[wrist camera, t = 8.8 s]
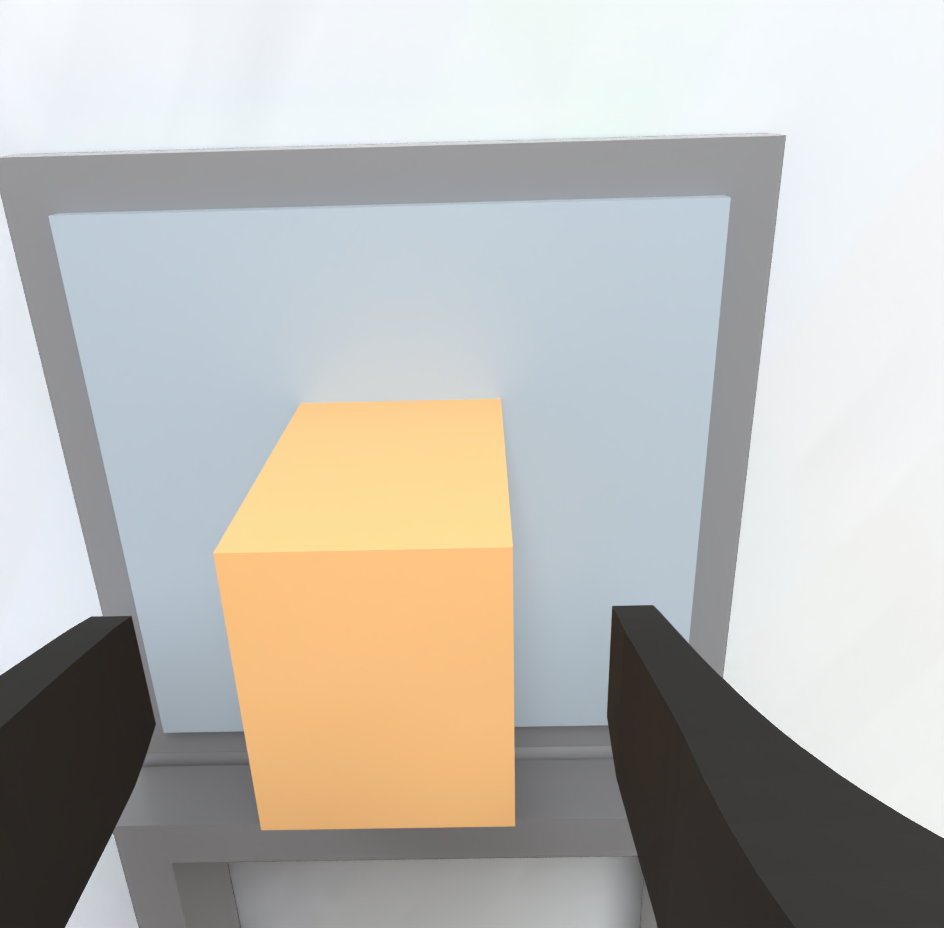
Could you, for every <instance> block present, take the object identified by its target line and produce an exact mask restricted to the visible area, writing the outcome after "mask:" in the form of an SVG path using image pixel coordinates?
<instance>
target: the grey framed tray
mask: <svg viewBox="0 0 944 928" xmlns="http://www.w3.org/2000/svg"><path fill="white" fill-rule="evenodd" d="M785 140H786V135H777V134H768V133H751V134H716V135H680V136H645V137H609V138H574V139H539V140H503V141H468V142H432V143H397V144H361V145H326V146H291V147H255V148H220V149H184V150H149V151H114V152H78V153H43V154H20V155H12V156H4V157H0V194H1V198H2V202H3V207H4V211H5V215H6V219H7V223H8V227H9V231H10V235H11V239H12V244H13V248H14V252H15V256H16V260H17V264H18V268H19V272H20V276H21V281H22V285H23V289H24V293H25V297H26V301H27V305H28V309H29V314H30V318H31V322H32V326H33V330H34V334H35V338H36V342H37V346H38V351H39V355H40V359H41V363H42V367H43V371H44V375H45V379H46V383H47V388H48V392H49V396H50V400H51V404H52V408H53V412H54V416H55V420H56V425H57V429H58V433H59V437H60V441H61V445H62V449H63V453H64V457H65V462H66V466H67V470H68V474H69V478H70V482H71V486H72V490H73V495H74V499H75V503H76V507H77V511H78V515H79V519H80V523H81V527H82V532H83V536H84V540H85V544H86V548H87V552H88V556H89V560H90V564H91V569H92V573H93V577H94V581H95V585H96V589H97V593H98V597H99V601H100V606H101V610H102V614H103V616H132V620H133V624H134V629H135V633H136V638H137V642H138V646H139V651H140V655H141V660H142V664H143V669H144V673H145V677H146V682H147V686H148V691H149V695H150V700H151V704H152V709H153V713H154V717H155V722H156V726H155V729H154V732H153V735H152V739H151V742H150V745H149V748H148V751H147V754H146V757H145V760H144V763H143V766H142V769H141V771H140V774H139V777H138V780H137V783H136V785H135V788H134V790H133V792H132V794H131V796H130V798H129V800H128V802H127V804H126V806H125V809H124V811H123V813H122V815H121V817H120V819H119V821H118V823H117V825H116V827H115V829H114V831H113V834H114V838H115V841H116V845H117V849H118V852H119V856H120V860H121V863H122V867H123V871H124V874H125V878H126V882H127V885H128V889H129V893H130V897H131V900H132V904H133V908H134V911H135V915H136V919H137V922H138V926H139V928H240V923H239V918H238V913H237V908H236V903H235V898H234V893H233V888H232V883H231V878H230V873H229V868H228V863H227V862H261V861H330V860H399V859H468V858H537V857H605V856H638V855H637V851H636V848H635V844H634V841H633V837H632V833H631V830H630V826H629V823H628V819H627V815H626V812H625V808H624V804H623V801H622V797H621V794H620V790H619V786H618V782H617V779H616V773H615V767H614V760H613V754H612V748H611V741H610V734H609V727H608V720H607V702H608V681H609V660H610V640H611V619H612V606H630V605H654V606H655V607H656V608H657V609H658V610H659V611H660V612H661V613H662V614H663V616H664V617H665V618H666V619H667V620H668V621H669V622H670V623H671V624H672V625H673V627H674V628H675V629H676V630H677V631H678V632H679V633H680V634H681V635H682V636H683V637H684V639H685V640H686V641H687V642H688V643H689V644H690V645H691V646H692V647H693V648H694V649H695V650H696V651H697V653H698V654H699V655H700V656H701V657H702V658H703V659H704V660H705V661H706V662H707V663H708V664H709V665H710V666H711V667H712V668H713V669H714V670H715V671H716V672H717V673H718V674H719V675H720V676H721V677H722V678H723V672H724V664H725V655H726V647H727V638H728V629H729V621H730V612H731V604H732V595H733V587H734V578H735V569H736V561H737V552H738V544H739V535H740V526H741V518H742V509H743V501H744V492H745V483H746V475H747V466H748V458H749V449H750V440H751V432H752V423H753V415H754V406H755V398H756V389H757V380H758V372H759V363H760V355H761V346H762V337H763V329H764V320H765V312H766V303H767V294H768V286H769V277H770V269H771V260H772V251H773V243H774V234H775V226H776V217H777V208H778V200H779V191H780V183H781V174H782V166H783V157H784V148H785ZM462 399H501V405H502V417H503V430H504V442H505V455H506V467H507V480H508V492H509V505H510V517H511V530H512V542H513V622H514V749H515V826H507V827H442V828H376V829H310V830H261V826H260V820H259V815H258V809H257V803H256V797H255V792H254V786H253V780H252V774H251V769H250V763H249V757H248V751H247V746H246V740H245V734H244V728H243V723H242V717H241V711H240V705H239V700H238V694H237V688H236V682H235V676H234V671H233V665H232V659H231V653H230V648H229V642H228V636H227V630H226V625H225V619H224V613H223V607H222V602H221V596H220V590H219V584H218V579H217V573H216V567H215V561H214V556H213V553H214V551H215V549H216V548H217V546H218V544H219V542H220V541H221V539H222V537H223V536H224V534H225V532H226V530H227V529H228V527H229V525H230V524H231V522H232V520H233V518H234V517H235V515H236V513H237V512H238V510H239V508H240V506H241V505H242V503H243V501H244V500H245V498H246V496H247V494H248V493H249V491H250V489H251V488H252V486H253V484H254V482H255V481H256V479H257V477H258V476H259V474H260V472H261V470H262V469H263V467H264V465H265V464H266V462H267V460H268V458H269V457H270V455H271V453H272V452H273V450H274V448H275V446H276V445H277V443H278V441H279V440H280V438H281V436H282V434H283V433H284V431H285V429H286V428H287V426H288V424H289V422H290V421H291V419H292V417H293V416H294V414H295V412H296V410H297V409H298V407H299V405H300V404H301V403H334V402H377V401H419V400H462ZM640 928H657V923H656V919H655V916H654V912H653V908H652V905H651V901H650V898H649V894H648V891H647V887H646V883H645V880H644V881H643V894H642V907H641V920H640Z"/></svg>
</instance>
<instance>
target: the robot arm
mask: <svg viewBox="0 0 944 928" xmlns="http://www.w3.org/2000/svg"><path fill="white" fill-rule="evenodd" d="M607 720H608V727H609V734H610V741H611V748H612V754H613V760H614V767H615V773H616V779H617V782H618V786H619V790H620V794H621V797H622V801H623V804H624V808H625V812H626V815H627V819H628V823H629V826H630V830H631V833H632V837H633V841H634V844H635V848H636V851H637V855H638V858H639V862H640V866H641V869H642V873H643V876H644V880H645V883H646V887H647V891H648V894H649V898H650V901H651V905H652V908H653V912H654V916H655V919H656V923H657V928H944V838H942V837H940V836H938V835H936V834H935V833H933V832H931V831H929V830H928V829H926V828H924V827H922V826H921V825H919V824H917V823H915V822H914V821H912V820H910V819H908V818H907V817H905V816H903V815H902V814H900V813H898V812H897V811H895V810H894V809H892V808H890V807H889V806H887V805H885V804H884V803H882V802H881V801H879V800H877V799H876V798H874V797H873V796H871V795H869V794H868V793H866V792H865V791H863V790H861V789H860V788H858V787H857V786H855V785H854V784H852V783H851V782H849V781H848V780H846V779H845V778H843V777H842V776H840V775H839V774H838V773H836V772H835V771H833V770H832V769H831V768H829V767H828V766H826V765H825V764H824V763H822V762H821V761H820V760H818V759H817V758H816V757H814V756H813V755H812V754H810V753H809V752H807V751H806V750H805V749H803V748H802V747H801V746H799V745H798V744H797V743H795V742H794V741H793V740H792V739H790V738H789V737H788V736H787V735H785V734H784V733H783V732H782V731H780V730H779V729H778V728H777V727H776V726H774V725H773V724H772V723H771V722H770V721H769V720H767V719H766V718H765V717H764V716H763V715H762V714H761V713H759V712H758V711H757V710H756V709H755V708H754V707H752V706H751V705H750V704H749V703H748V702H747V701H746V700H745V699H744V698H743V697H742V696H740V695H739V694H738V693H737V692H736V691H735V690H734V689H733V688H732V687H731V686H730V685H729V684H728V683H727V682H726V681H725V680H724V679H723V678H722V677H721V676H720V675H719V674H718V673H717V672H716V671H715V670H714V669H713V668H712V667H711V666H710V665H709V664H708V663H707V662H706V661H705V660H704V659H703V658H702V657H701V656H700V655H699V654H698V653H697V651H696V650H695V649H694V648H693V647H692V646H691V645H690V644H689V643H688V642H687V641H686V640H685V639H684V637H683V636H682V635H681V634H680V633H679V632H678V631H677V630H676V629H675V628H674V627H673V625H672V624H671V623H670V622H669V621H668V620H667V619H666V618H665V617H664V616H663V614H662V613H661V612H660V611H659V610H658V609H657V608H656V607H655V606H654V605H630V606H612V619H611V640H610V660H609V681H608V702H607ZM155 726H156V722H155V717H154V713H153V709H152V704H151V700H150V695H149V691H148V686H147V682H146V677H145V673H144V669H143V664H142V660H141V655H140V651H139V646H138V642H137V638H136V633H135V629H134V624H133V620H132V616H101V617H90V618H88V619H87V620H85V621H83V622H81V623H79V624H78V625H76V626H74V627H73V628H71V629H70V630H68V631H66V632H65V633H63V634H62V635H60V636H59V637H57V638H56V639H54V640H53V641H51V642H50V643H48V644H47V645H45V646H44V647H42V648H41V649H39V650H38V651H36V652H35V653H33V654H32V655H30V656H29V657H27V658H26V659H24V660H23V661H21V662H20V663H18V664H17V665H15V666H14V667H12V668H11V669H9V670H8V671H6V672H5V673H3V674H2V675H0V928H65V926H66V924H67V922H68V920H69V918H70V916H71V914H72V912H73V910H74V908H75V906H76V904H77V902H78V900H79V898H80V896H81V895H82V893H83V891H84V889H85V887H86V885H87V883H88V881H89V879H90V877H91V875H92V873H93V871H94V869H95V867H96V865H97V863H98V861H99V859H100V857H101V855H102V853H103V851H104V849H105V847H106V845H107V843H108V841H109V839H110V837H111V835H112V833H113V831H114V829H115V827H116V825H117V823H118V821H119V819H120V817H121V815H122V813H123V811H124V809H125V806H126V804H127V802H128V800H129V798H130V796H131V794H132V792H133V790H134V788H135V785H136V783H137V780H138V777H139V774H140V771H141V769H142V766H143V763H144V760H145V757H146V754H147V751H148V748H149V745H150V742H151V739H152V735H153V732H154V729H155Z"/></svg>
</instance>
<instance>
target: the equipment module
mask: <svg viewBox="0 0 944 928" xmlns="http://www.w3.org/2000/svg"><path fill="white" fill-rule="evenodd" d="M213 556H214V561H215V567H216V573H217V579H218V584H219V590H220V596H221V602H222V607H223V613H224V619H225V625H226V630H227V636H228V642H229V648H230V653H231V659H232V665H233V671H234V676H235V682H236V688H237V694H238V700H239V705H240V711H241V717H242V723H243V728H244V734H245V740H246V746H247V751H248V757H249V763H250V769H251V774H252V780H253V786H254V792H255V797H256V803H257V809H258V815H259V820H260V826H261V830H310V829H376V828H442V827H507V826H515V749H514V622H513V542H512V530H511V517H510V505H509V492H508V480H507V467H506V455H505V442H504V430H503V417H502V405H501V399H462V400H419V401H377V402H334V403H301V404H300V405H299V407H298V409H297V410H296V412H295V414H294V416H293V417H292V419H291V421H290V422H289V424H288V426H287V428H286V429H285V431H284V433H283V434H282V436H281V438H280V440H279V441H278V443H277V445H276V446H275V448H274V450H273V452H272V453H271V455H270V457H269V458H268V460H267V462H266V464H265V465H264V467H263V469H262V470H261V472H260V474H259V476H258V477H257V479H256V481H255V482H254V484H253V486H252V488H251V489H250V491H249V493H248V494H247V496H246V498H245V500H244V501H243V503H242V505H241V506H240V508H239V510H238V512H237V513H236V515H235V517H234V518H233V520H232V522H231V524H230V525H229V527H228V529H227V530H226V532H225V534H224V536H223V537H222V539H221V541H220V542H219V544H218V546H217V548H216V549H215V551H214V553H213Z"/></svg>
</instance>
